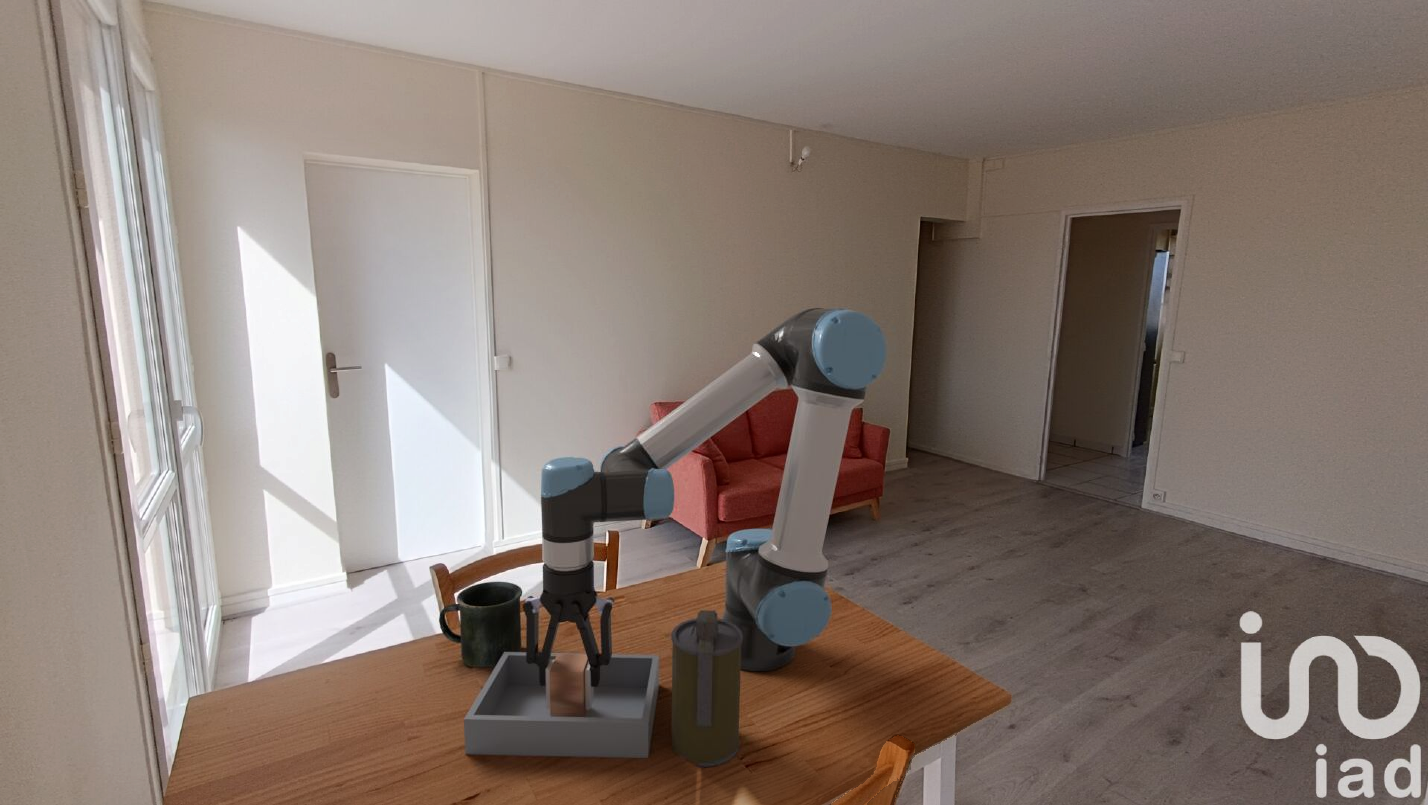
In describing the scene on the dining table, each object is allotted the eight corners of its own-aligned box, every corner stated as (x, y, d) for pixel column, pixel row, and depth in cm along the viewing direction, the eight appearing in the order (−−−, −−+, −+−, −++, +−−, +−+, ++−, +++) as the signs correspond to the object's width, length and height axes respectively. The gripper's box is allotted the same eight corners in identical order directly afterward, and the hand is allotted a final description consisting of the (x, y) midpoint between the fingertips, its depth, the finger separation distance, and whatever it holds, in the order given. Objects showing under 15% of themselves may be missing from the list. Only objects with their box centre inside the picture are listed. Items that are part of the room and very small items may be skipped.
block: (589, 706, 105) (589, 654, 104) (583, 727, 100) (582, 672, 99) (558, 706, 105) (557, 653, 104) (550, 726, 100) (549, 671, 99)
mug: (517, 671, 116) (515, 606, 114) (431, 673, 115) (428, 608, 113) (528, 639, 127) (527, 580, 125) (450, 641, 125) (447, 582, 123)
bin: (658, 688, 112) (659, 655, 111) (647, 761, 94) (648, 723, 93) (505, 684, 112) (504, 651, 111) (465, 757, 94) (463, 719, 93)
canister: (673, 719, 103) (674, 599, 100) (739, 722, 103) (743, 602, 100) (665, 768, 93) (667, 635, 90) (740, 771, 92) (744, 638, 89)
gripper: (632, 553, 103) (632, 690, 106) (514, 550, 103) (518, 688, 106) (626, 572, 95) (626, 720, 99) (499, 570, 95) (503, 717, 99)
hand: (570, 703), depth 102 cm, fingers open, 5 cm apart
